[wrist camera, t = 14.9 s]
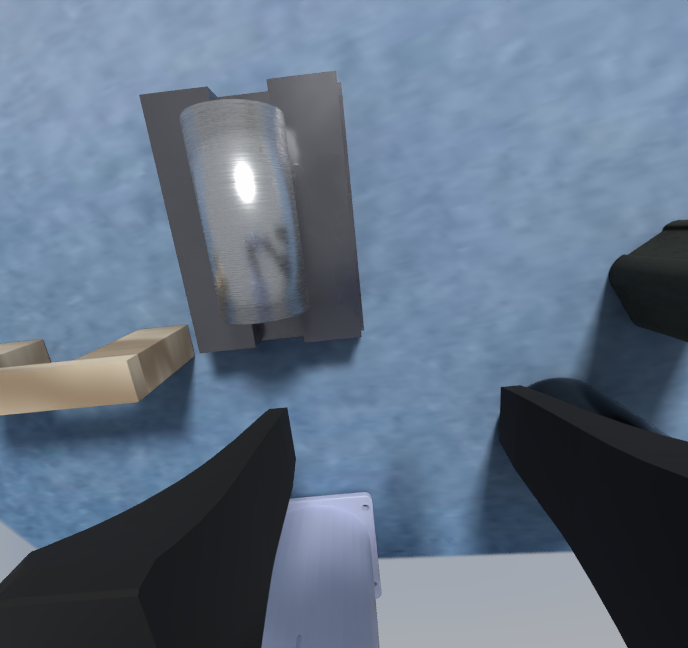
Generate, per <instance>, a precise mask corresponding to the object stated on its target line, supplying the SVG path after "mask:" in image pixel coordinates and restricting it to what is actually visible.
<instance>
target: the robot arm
mask: <svg viewBox="0 0 688 648" xmlns="http://www.w3.org/2000/svg"><path fill="white" fill-rule="evenodd" d="M500 442H501V444H502V446H503V448H504V450H505V452H506V454H507V456H508V458H509V459H510V461H511V463H512V465H513V467H514V468H515V470H516V471H517V473H518V474H519V475H520V477H521V478H522V480H523V481H524V482H525V484H526V485H527V487H528V488H529V490H530V491H531V492H532V494H533V495H534V496H535V498H536V499H537V501H538V502H539V503H540V505H541V506H542V507H543V509H544V510H545V512H546V513H547V514H548V516H549V517H550V518H551V520H552V521H553V523H554V524H555V525H556V527H557V528H558V529H559V531H560V532H561V534H562V535H563V537H564V538H565V540H566V541H567V543H568V544H569V546H570V547H571V549H572V551H573V552H574V554H575V556H576V557H577V559H578V560H579V562H580V564H581V566H582V567H583V569H584V571H585V572H586V574H587V576H588V577H589V579H590V581H591V582H592V584H593V586H594V587H595V589H596V591H597V593H598V595H599V596H600V598H601V600H602V602H603V604H604V605H605V607H606V609H607V611H608V613H609V614H610V616H611V618H612V620H613V621H614V623H615V625H616V627H617V628H618V630H619V632H620V634H621V636H622V638H623V640H624V642H625V644H626V645H627V647H628V648H688V442H687V441H683V440H679V439H675V438H671V437H668V436H664V435H661V434H657V433H654V432H650V431H647V430H643V429H640V428H637V427H633V426H630V425H627V424H624V423H621V422H618V421H615V420H613V419H610V418H607V417H604V416H601V415H598V414H595V413H593V412H590V411H587V410H585V409H582V408H579V407H577V406H574V405H572V404H569V403H567V402H564V401H562V400H559V399H556V398H554V397H551V396H549V395H546V394H544V393H541V392H538V391H536V390H533V389H530V388H527V387H523V386H509V387H501V405H500ZM295 462H296V457H295V451H294V445H293V440H292V434H291V428H290V422H289V416H288V410H287V408H276V409H269V410H268V411H266V412H265V413H264V414H263V415H262V416H260V417H259V418H258V419H257V420H256V421H255V422H254V423H253V424H252V425H251V426H249V427H248V428H247V429H246V430H245V431H244V432H243V433H242V434H240V435H239V436H238V437H237V438H236V439H235V440H234V441H232V442H231V443H230V444H229V445H227V446H226V447H225V448H224V449H222V450H221V451H220V452H219V453H217V454H216V455H215V456H214V457H213V458H211V459H210V460H209V461H207V462H206V463H205V464H203V465H202V466H200V467H199V468H198V469H196V470H195V471H193V472H192V473H190V474H189V475H187V476H186V477H184V478H183V479H181V480H180V481H178V482H176V483H175V484H173V485H171V486H170V487H168V488H166V489H164V490H163V491H161V492H159V493H158V494H156V495H154V496H152V497H151V498H149V499H147V500H146V501H144V502H142V503H140V504H138V505H136V506H134V507H132V508H130V509H128V510H126V511H124V512H122V513H120V514H118V515H116V516H114V517H112V518H110V519H108V520H106V521H104V522H102V523H99V524H97V525H95V526H93V527H91V528H88V529H86V530H84V531H81V532H79V533H76V534H74V535H72V536H69V537H67V538H64V539H62V540H60V541H57V542H55V543H52V544H50V545H48V546H45V547H43V548H40V549H37V550H35V551H32V552H31V553H29V554H28V555H27V556H26V557H25V558H24V559H23V560H22V561H21V563H20V564H19V565H18V566H17V567H16V568H15V569H14V570H13V571H12V572H11V573H10V574H9V575H8V576H7V577H6V578H5V579H4V580H3V581H2V582H1V583H0V648H379V636H378V624H377V613H376V601H375V599H376V598H378V597H380V596H381V585H380V575H379V565H378V555H377V545H376V535H375V525H374V515H373V506H372V497H371V495H370V494H369V493H367V492H360V493H349V494H337V495H326V496H314V497H303V498H291V499H290V496H291V492H292V487H293V480H294V471H295ZM363 505H368V506H366V507H365V506H363Z"/></svg>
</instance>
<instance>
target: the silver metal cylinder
mask: <svg viewBox="0 0 688 648" xmlns="http://www.w3.org/2000/svg"><path fill="white" fill-rule="evenodd" d="M179 118H180V123H181V128H182V133H183V138H184V142H185V147H186V152H187V157H188V161H189V166H190V171H191V176H192V180H193V185H194V190H195V195H196V199H197V204H198V209H199V214H200V218H201V223H202V228H203V233H204V237H205V242H206V247H207V252H208V257H209V261H210V266H211V271H212V276H213V280H214V285H215V290H216V295H217V299H218V304H219V309H220V314H221V318H222V321H223V322H224V323H228V324H257V323H265V322H271V321H276V320H281V319H285V318H289V317H293V316H296V315H298V314H301V313H303V312H305V311H307V310H308V309H309V308H310V305H309V298H308V291H307V283H306V276H305V268H304V261H303V254H302V246H301V239H300V232H299V224H298V217H297V209H296V202H295V195H294V187H293V180H292V173H291V165H290V158H289V150H288V143H287V136H286V128H285V121H284V115H283V113H282V111H281V110H280V109H278V108H277V107H275V106H273V105H270V104H267V103H264V102H259V101H254V100H245V99H221V100H212V101H206V102H201V103H198V104H195V105H192V106H190V107H188V108H186V109H185V110H183V111H182V112H181V114H180V117H179Z"/></svg>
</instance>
